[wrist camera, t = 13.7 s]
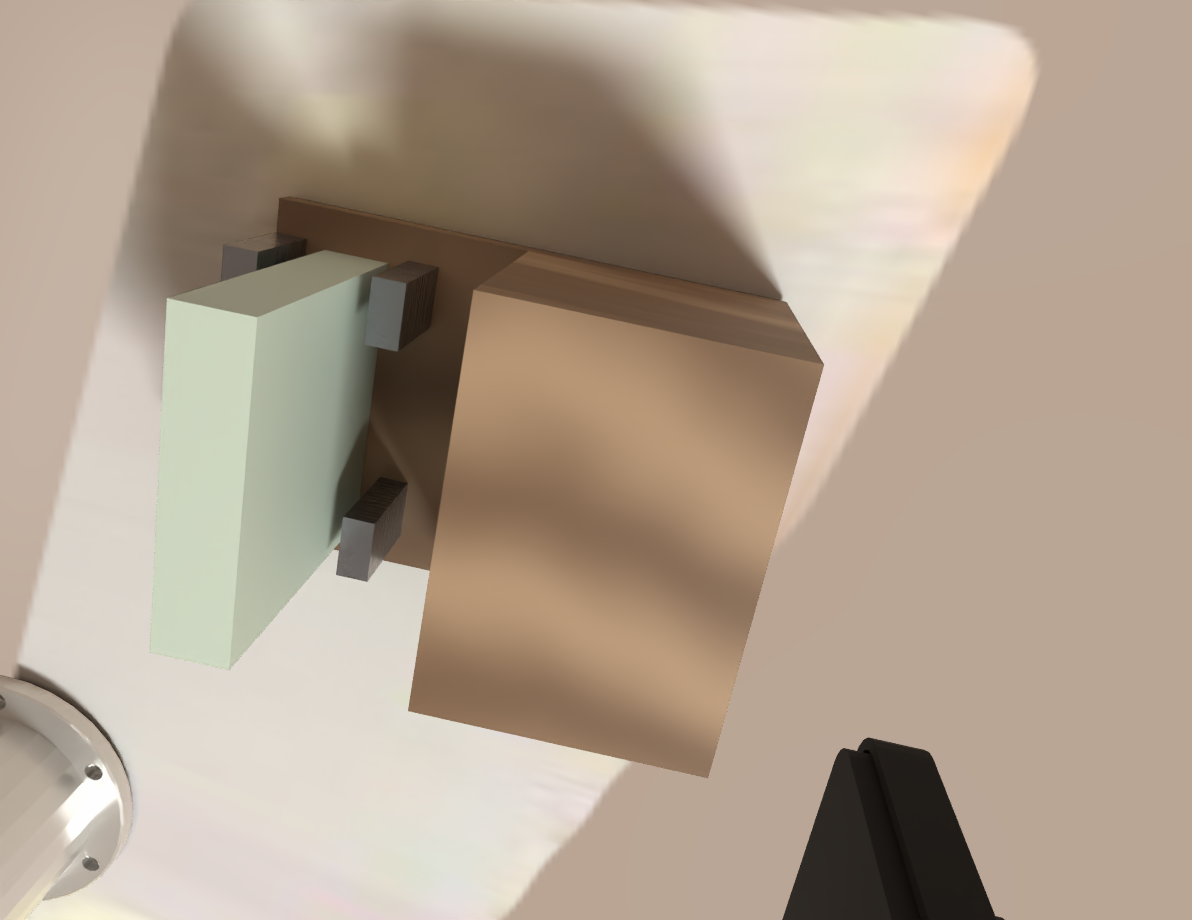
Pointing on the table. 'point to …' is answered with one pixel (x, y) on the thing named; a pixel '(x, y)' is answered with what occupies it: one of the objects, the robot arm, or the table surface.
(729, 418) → the cabinet
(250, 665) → the table surface
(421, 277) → the hinge clips
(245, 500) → the door
